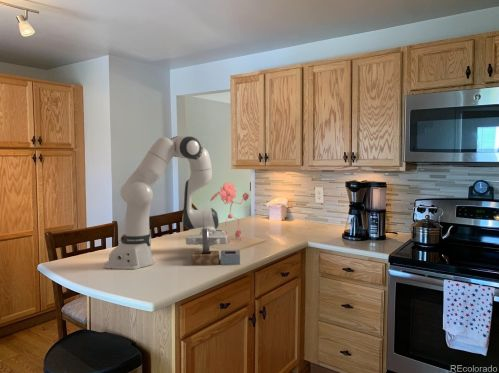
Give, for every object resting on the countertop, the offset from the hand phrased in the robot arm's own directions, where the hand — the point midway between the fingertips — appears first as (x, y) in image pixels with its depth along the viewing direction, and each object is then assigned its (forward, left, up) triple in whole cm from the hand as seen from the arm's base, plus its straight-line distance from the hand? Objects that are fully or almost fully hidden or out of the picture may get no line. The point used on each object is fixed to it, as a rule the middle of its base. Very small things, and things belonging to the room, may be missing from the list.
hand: (205, 242), depth 181 cm
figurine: (+10, +51, -10) cm, 53 cm away
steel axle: (0, 0, -10) cm, 10 cm away
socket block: (+12, 0, -10) cm, 15 cm away
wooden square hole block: (0, 0, -10) cm, 10 cm away
